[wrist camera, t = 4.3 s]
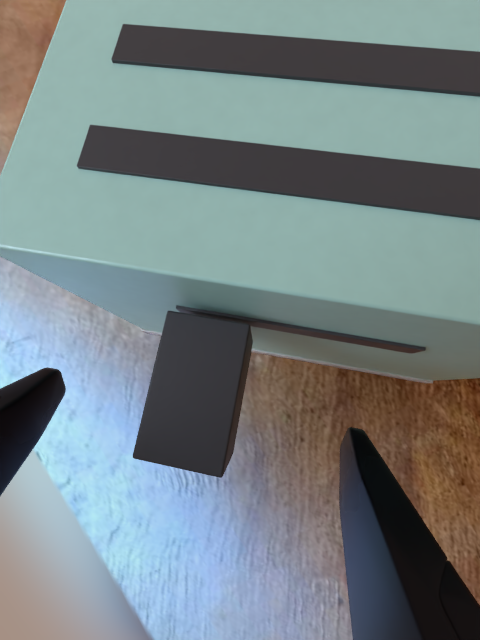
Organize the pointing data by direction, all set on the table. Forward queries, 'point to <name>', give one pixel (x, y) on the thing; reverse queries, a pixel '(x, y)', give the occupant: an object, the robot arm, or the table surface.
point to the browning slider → (195, 394)
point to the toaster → (263, 174)
